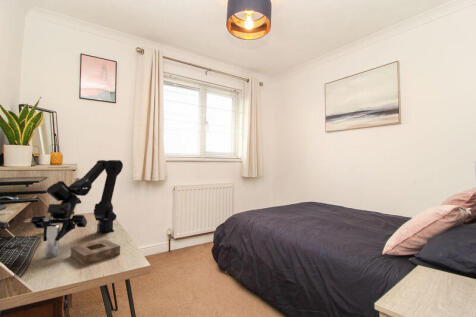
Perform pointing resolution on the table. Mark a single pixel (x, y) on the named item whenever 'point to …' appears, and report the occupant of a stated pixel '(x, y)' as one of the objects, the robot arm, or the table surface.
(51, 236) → the translucent grey tall block
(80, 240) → the table surface
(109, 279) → the table surface
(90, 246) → the socket block
